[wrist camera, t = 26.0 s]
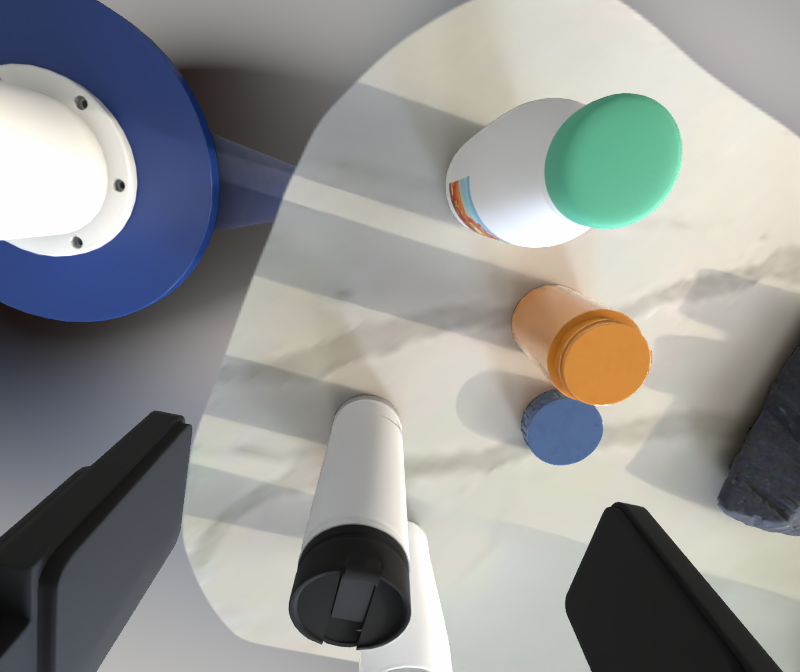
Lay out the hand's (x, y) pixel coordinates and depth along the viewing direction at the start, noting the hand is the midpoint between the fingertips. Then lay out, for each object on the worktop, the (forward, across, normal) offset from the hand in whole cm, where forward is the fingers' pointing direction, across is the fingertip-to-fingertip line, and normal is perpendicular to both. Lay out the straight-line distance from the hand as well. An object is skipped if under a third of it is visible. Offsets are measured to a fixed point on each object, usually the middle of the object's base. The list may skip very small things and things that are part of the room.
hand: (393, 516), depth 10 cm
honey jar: (+28, -14, 0) cm, 32 cm away
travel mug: (+28, -1, +13) cm, 31 cm away
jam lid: (+27, -18, +9) cm, 34 cm away
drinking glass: (+28, -7, +25) cm, 39 cm away
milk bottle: (+28, -6, -10) cm, 31 cm away
